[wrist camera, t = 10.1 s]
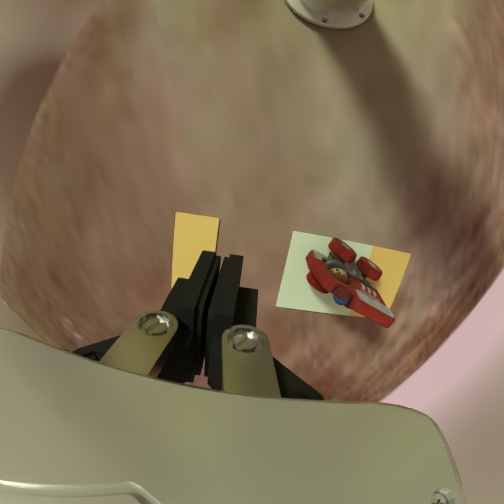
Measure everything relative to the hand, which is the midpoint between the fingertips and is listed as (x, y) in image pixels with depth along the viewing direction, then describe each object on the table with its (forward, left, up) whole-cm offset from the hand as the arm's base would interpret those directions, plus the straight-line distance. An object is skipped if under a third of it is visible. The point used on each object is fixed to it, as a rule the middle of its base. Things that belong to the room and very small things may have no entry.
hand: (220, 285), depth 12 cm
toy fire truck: (+9, +15, -26) cm, 32 cm away
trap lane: (+11, +8, -26) cm, 30 cm away
